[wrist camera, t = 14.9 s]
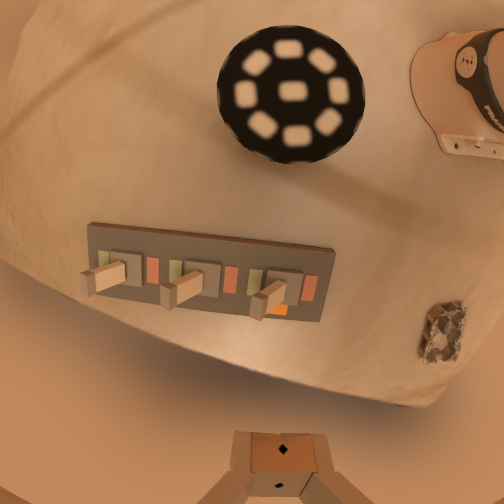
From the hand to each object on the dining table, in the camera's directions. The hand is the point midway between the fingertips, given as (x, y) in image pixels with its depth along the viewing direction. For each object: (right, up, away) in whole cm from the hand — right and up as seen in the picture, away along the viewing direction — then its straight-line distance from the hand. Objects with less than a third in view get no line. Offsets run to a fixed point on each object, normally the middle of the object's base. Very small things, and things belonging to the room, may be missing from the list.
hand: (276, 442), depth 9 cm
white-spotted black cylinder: (+1, +22, +25) cm, 34 cm away
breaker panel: (-7, +4, +32) cm, 33 cm away
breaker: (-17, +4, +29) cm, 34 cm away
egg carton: (+30, -7, +36) cm, 47 cm away
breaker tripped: (+3, +2, +30) cm, 30 cm away
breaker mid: (-7, +3, +29) cm, 30 cm away
